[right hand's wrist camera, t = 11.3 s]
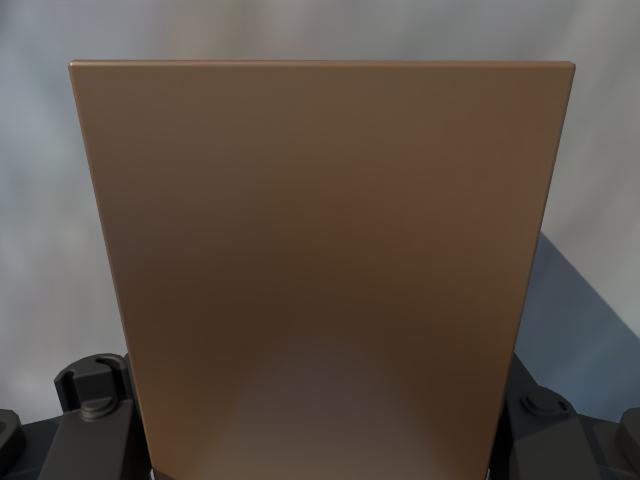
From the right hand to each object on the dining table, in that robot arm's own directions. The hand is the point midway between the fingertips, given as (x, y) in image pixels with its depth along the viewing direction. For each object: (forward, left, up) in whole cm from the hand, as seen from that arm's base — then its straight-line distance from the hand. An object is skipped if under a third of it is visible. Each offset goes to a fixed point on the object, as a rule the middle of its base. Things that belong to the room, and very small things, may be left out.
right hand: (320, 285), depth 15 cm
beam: (-3, +28, -1) cm, 28 cm away
